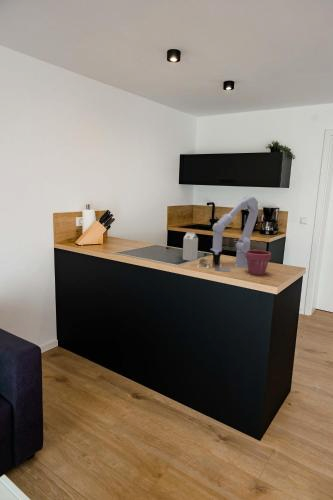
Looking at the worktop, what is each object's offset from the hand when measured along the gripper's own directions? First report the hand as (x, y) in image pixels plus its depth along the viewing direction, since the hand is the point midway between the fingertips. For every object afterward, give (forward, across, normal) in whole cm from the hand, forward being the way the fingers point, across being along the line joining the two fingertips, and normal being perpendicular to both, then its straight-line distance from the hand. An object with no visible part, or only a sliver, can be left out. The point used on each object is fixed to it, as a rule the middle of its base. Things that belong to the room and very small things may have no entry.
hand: (216, 263), depth 216 cm
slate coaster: (+2, +10, +4) cm, 11 cm away
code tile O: (+2, +5, -8) cm, 10 cm away
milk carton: (+2, -13, -18) cm, 22 cm away
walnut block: (+1, 0, 0) cm, 1 cm away
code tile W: (+2, 0, 0) cm, 2 cm away
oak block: (+1, +5, -8) cm, 10 cm away
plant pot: (+2, +12, +24) cm, 27 cm away
